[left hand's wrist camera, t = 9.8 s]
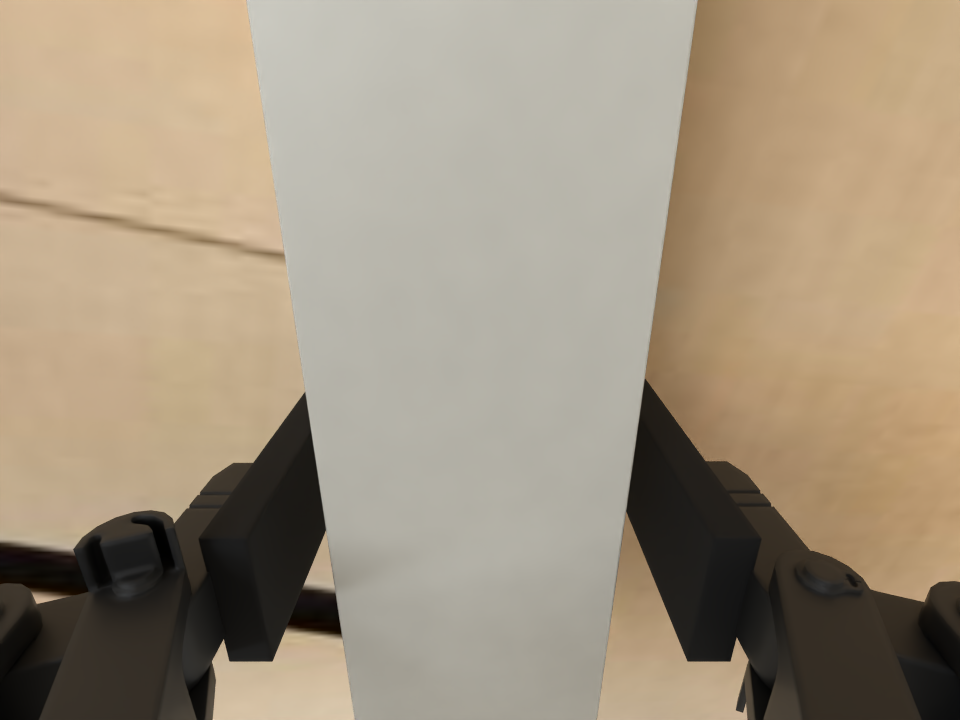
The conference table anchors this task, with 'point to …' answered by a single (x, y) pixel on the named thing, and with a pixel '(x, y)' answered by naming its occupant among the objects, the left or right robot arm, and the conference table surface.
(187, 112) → the conference table surface
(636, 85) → the post
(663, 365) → the conference table surface
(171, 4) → the conference table surface
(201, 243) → the conference table surface
